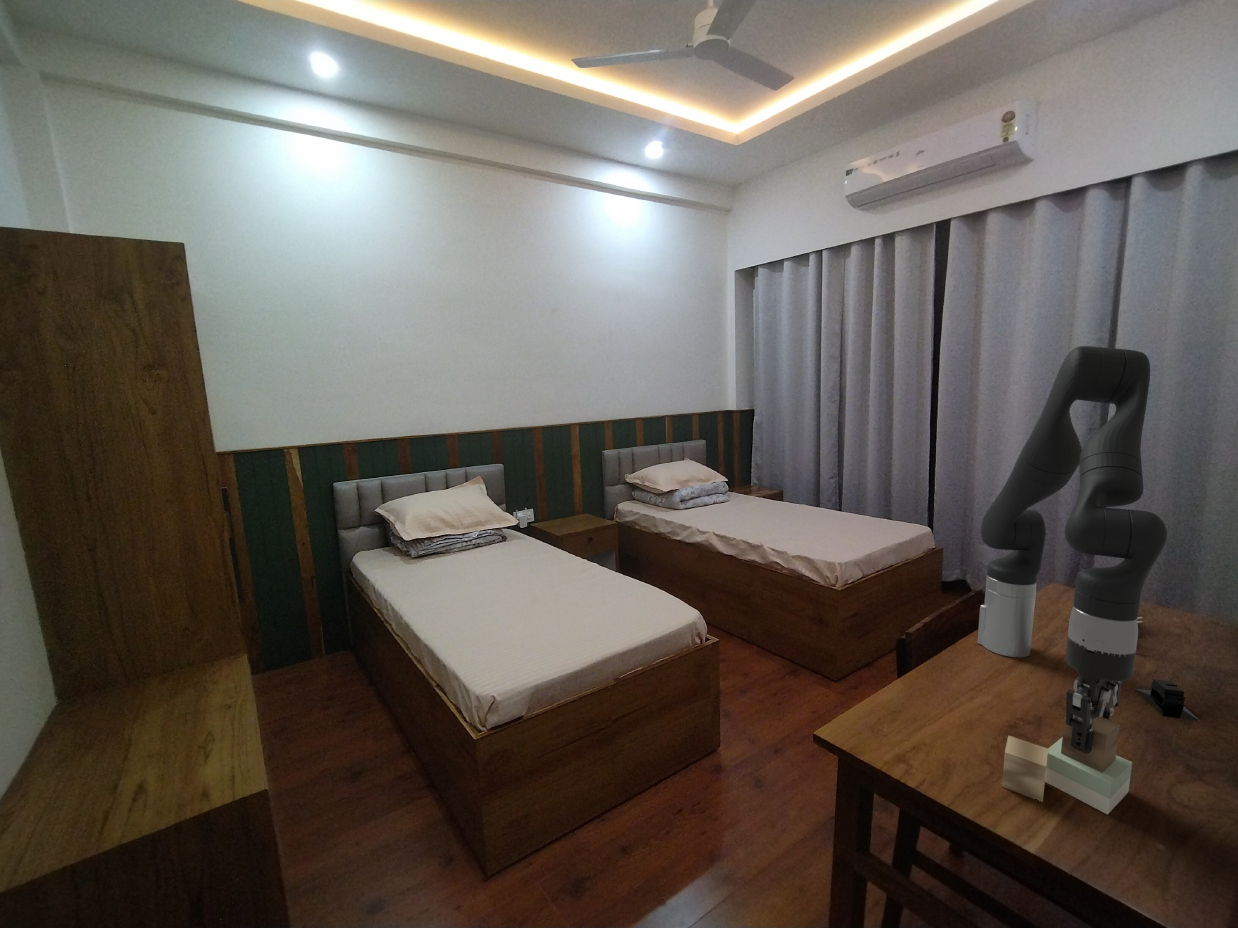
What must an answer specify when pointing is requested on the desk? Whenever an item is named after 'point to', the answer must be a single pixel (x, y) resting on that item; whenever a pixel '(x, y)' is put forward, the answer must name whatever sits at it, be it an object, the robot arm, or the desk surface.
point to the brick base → (1086, 792)
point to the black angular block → (1167, 699)
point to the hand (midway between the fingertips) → (1089, 741)
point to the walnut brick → (1094, 745)
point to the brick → (1025, 768)
